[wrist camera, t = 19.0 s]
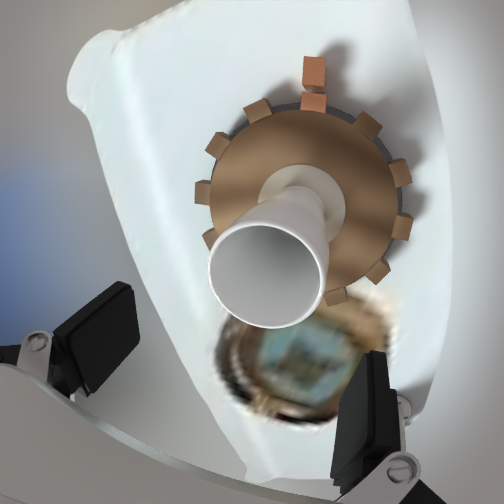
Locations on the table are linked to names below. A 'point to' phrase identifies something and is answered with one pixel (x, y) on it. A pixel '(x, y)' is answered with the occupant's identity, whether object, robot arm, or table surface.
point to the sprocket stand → (316, 82)
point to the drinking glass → (273, 260)
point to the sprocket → (313, 183)
